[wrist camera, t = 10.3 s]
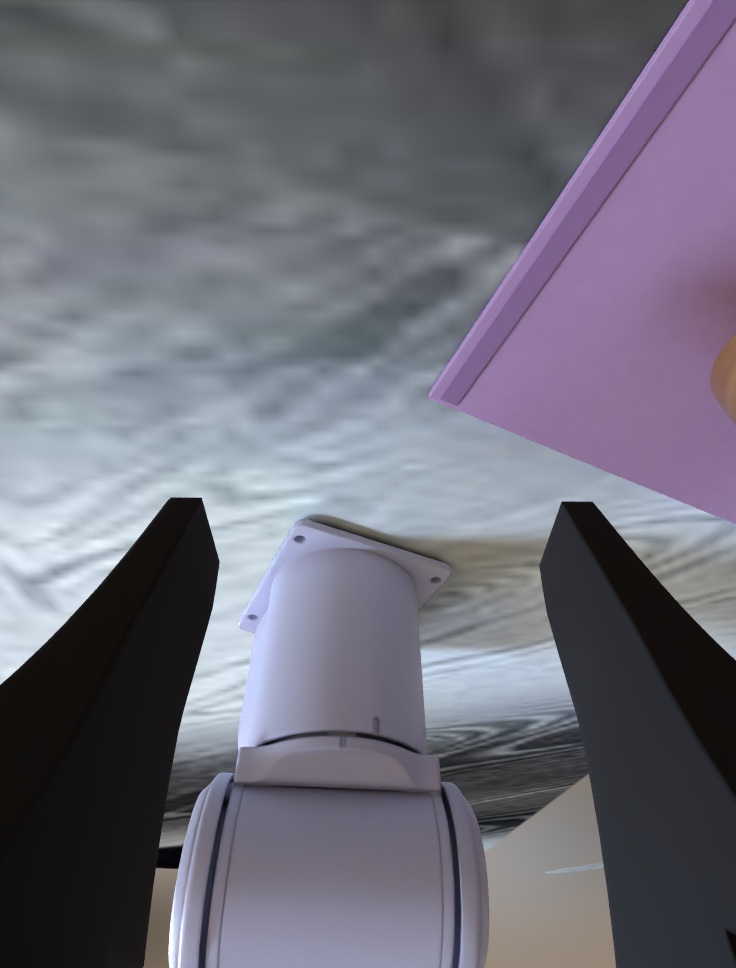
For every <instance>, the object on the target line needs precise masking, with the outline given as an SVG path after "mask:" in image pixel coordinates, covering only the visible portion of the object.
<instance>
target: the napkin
mask: <svg viewBox="0 0 736 968" xmlns="http://www.w3.org/2000/svg"><path fill="white" fill-rule="evenodd" d="M735 334H736V0H689V2H688V3H687V5H686V6H685V8H684V9H683V11H682V12H681V14H680V15H679V17H678V18H677V20H676V21H675V23H674V24H673V26H672V27H671V29H670V30H669V32H668V33H667V35H666V36H665V38H664V39H663V41H662V42H661V44H660V45H659V47H658V48H657V50H656V51H655V53H654V54H653V56H652V57H651V59H650V61H649V62H648V64H647V65H646V67H645V68H644V70H643V71H642V73H641V74H640V76H639V77H638V79H637V80H636V82H635V83H634V85H633V86H632V88H631V89H630V91H629V92H628V94H627V95H626V97H625V98H624V100H623V101H622V103H621V104H620V106H619V107H618V109H617V110H616V112H615V113H614V115H613V116H612V118H611V119H610V121H609V122H608V124H607V125H606V127H605V128H604V130H603V131H602V133H601V134H600V136H599V137H598V139H597V140H596V142H595V143H594V145H593V146H592V148H591V149H590V151H589V152H588V154H587V155H586V157H585V158H584V160H583V161H582V163H581V164H580V166H579V167H578V169H577V170H576V172H575V173H574V175H573V176H572V178H571V179H570V181H569V182H568V184H567V186H566V187H565V189H564V190H563V192H562V193H561V195H560V196H559V198H558V199H557V201H556V202H555V204H554V205H553V207H552V208H551V210H550V211H549V213H548V214H547V216H546V217H545V219H544V220H543V222H542V223H541V225H540V226H539V228H538V229H537V231H536V232H535V234H534V235H533V237H532V238H531V240H530V241H529V243H528V244H527V246H526V247H525V249H524V250H523V252H522V253H521V255H520V256H519V258H518V259H517V261H516V262H515V264H514V265H513V267H512V268H511V270H510V271H509V273H508V274H507V276H506V277H505V279H504V280H503V282H502V283H501V285H500V286H499V288H498V289H497V291H496V292H495V294H494V295H493V297H492V298H491V300H490V301H489V303H488V304H487V306H486V308H485V309H484V311H483V312H482V314H481V315H480V317H479V318H478V320H477V321H476V323H475V324H474V326H473V327H472V329H471V330H470V332H469V333H468V335H467V336H466V338H465V339H464V341H463V342H462V344H461V345H460V347H459V348H458V350H457V351H456V353H455V354H454V356H453V357H452V359H451V360H450V362H449V363H448V365H447V366H446V368H445V369H444V371H443V372H442V374H441V375H440V377H439V378H438V380H437V381H436V383H435V384H434V386H433V387H432V389H431V390H430V392H429V393H428V396H429V399H432V400H434V401H437V402H439V403H442V404H444V405H447V406H449V407H451V408H454V409H456V410H459V411H461V412H464V413H466V414H468V415H471V416H473V417H476V418H478V419H481V420H483V421H485V422H488V423H490V424H493V425H495V426H498V427H500V428H503V429H505V430H507V431H510V432H512V433H515V434H517V435H520V436H522V437H524V438H527V439H529V440H532V441H534V442H537V443H539V444H541V445H544V446H546V447H549V448H551V449H554V450H556V451H559V452H561V453H563V454H566V455H568V456H571V457H573V458H576V459H578V460H580V461H583V462H585V463H588V464H590V465H593V466H595V467H598V468H600V469H602V470H605V471H607V472H610V473H612V474H615V475H617V476H619V477H622V478H624V479H627V480H629V481H632V482H634V483H636V484H639V485H641V486H644V487H646V488H649V489H651V490H654V491H656V492H658V493H661V494H663V495H666V496H668V497H671V498H673V499H675V500H678V501H680V502H683V503H685V504H688V505H690V506H693V507H695V508H697V509H700V510H702V511H705V512H707V513H710V514H712V515H714V516H717V517H719V518H722V519H724V520H727V521H729V522H731V523H734V524H736V426H735V424H734V423H733V422H732V420H731V419H730V418H729V416H728V415H727V413H726V412H725V411H724V409H723V408H722V407H721V405H720V404H719V403H718V401H717V400H716V399H715V397H714V395H713V393H712V390H711V380H710V379H711V372H712V369H713V366H714V363H715V361H716V359H717V357H718V355H719V354H720V352H721V350H722V349H723V348H724V346H725V345H726V344H727V343H728V341H729V340H730V339H731V338H732V337H733V336H734V335H735Z"/></svg>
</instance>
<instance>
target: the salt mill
mask: <svg viewBox="0 0 736 968" xmlns="http://www.w3.org/2000/svg"><path fill="white" fill-rule="evenodd" d="M710 380H711V390H712V393H713V395H714V397H715V399H716V400H717V401H718V403H719V404H720V405H721V407H722V408H723V409H724V411H725V412H726V413H727V415H728V416H729V418H730V419H731V420H732V422H733V423H734V424H735V426H736V334H735V335H734V336H733V337H732V338H731V339H730V340H729V341H728V343H727V344H726V345H725V346H724V348H723V349H722V350H721V352H720V354H719V355H718V357H717V359H716V361H715V363H714V366H713V369H712V372H711V379H710Z"/></svg>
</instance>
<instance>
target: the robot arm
mask: <svg viewBox="0 0 736 968" xmlns="http://www.w3.org/2000/svg"><path fill="white" fill-rule="evenodd" d="M301 536H302V537H301ZM539 566H540V573H541V580H542V586H543V593H544V599H545V605H546V611H547V615H548V618H549V622H550V625H551V629H552V632H553V636H554V639H555V643H556V646H557V650H558V653H559V657H560V660H561V663H562V667H563V670H564V674H565V677H566V680H567V684H568V687H569V691H570V694H571V697H572V701H573V704H574V708H575V711H576V715H577V719H578V723H579V727H580V731H581V735H582V739H583V745H584V750H585V755H586V761H587V766H588V771H589V776H590V782H591V787H592V793H593V799H594V805H595V811H596V817H597V823H598V829H599V835H600V842H601V848H602V856H603V863H604V870H605V877H606V884H607V891H608V899H609V908H610V916H611V925H612V933H613V940H614V950H615V959H616V968H736V660H735V659H734V658H732V657H731V656H730V655H729V654H728V653H727V652H726V651H725V650H724V649H723V648H722V647H721V646H720V645H719V644H718V643H717V642H716V641H715V640H714V639H713V638H712V637H711V636H710V635H709V634H708V633H707V632H706V631H705V630H704V629H703V628H702V627H701V626H700V625H699V624H698V623H697V622H696V621H695V620H694V619H693V618H692V617H691V616H690V615H689V614H688V613H687V612H686V611H685V610H684V609H683V607H682V606H681V605H680V604H679V603H678V602H677V601H676V600H675V599H674V598H673V597H672V595H671V594H670V593H669V592H668V591H667V590H666V589H665V588H664V586H663V585H662V584H661V583H660V582H659V581H658V580H657V579H656V577H655V576H654V575H653V574H652V573H651V572H650V571H649V569H648V568H647V567H646V566H645V565H644V564H643V562H642V561H641V560H640V559H639V558H638V556H637V555H636V554H635V553H634V552H633V550H632V549H631V548H630V547H629V546H628V544H627V543H626V542H625V541H624V540H623V538H622V537H621V536H620V535H619V533H618V532H617V531H616V530H615V529H614V527H613V526H612V525H611V524H610V522H609V521H608V520H607V519H606V518H605V516H604V515H603V514H602V513H601V511H600V510H599V509H598V508H597V507H596V505H595V504H594V503H593V502H562V503H561V505H560V508H559V511H558V514H557V517H556V520H555V522H554V525H553V528H552V531H551V534H550V537H549V540H548V542H547V545H546V548H545V551H544V554H543V557H542V559H541V562H540V565H539ZM218 569H219V558H218V555H217V551H216V547H215V544H214V540H213V537H212V533H211V530H210V526H209V522H208V519H207V515H206V512H205V508H204V505H203V501H202V498H170V499H169V500H168V501H167V502H166V503H165V505H164V506H163V507H162V509H161V510H160V511H159V512H158V514H157V515H156V516H155V518H154V519H153V520H152V522H151V523H150V524H149V525H148V527H147V528H146V529H145V531H144V532H143V533H142V534H141V536H140V537H139V538H138V540H137V541H136V542H135V543H134V545H133V546H132V547H131V548H130V550H129V551H128V552H127V553H126V555H125V556H124V557H123V558H122V559H121V560H120V562H119V563H118V564H117V565H116V566H115V568H114V569H113V570H112V571H111V572H110V574H109V575H108V576H107V577H106V578H105V580H104V581H103V582H102V583H101V584H100V585H99V587H98V588H97V589H96V590H95V591H94V592H93V593H92V594H91V596H90V597H89V598H88V599H87V600H86V601H85V602H84V603H83V604H82V605H81V606H80V607H79V609H78V610H77V611H76V612H75V613H74V614H73V615H72V616H71V617H70V618H69V619H68V621H67V622H66V623H65V624H64V625H63V626H62V627H61V628H60V629H59V630H58V631H57V632H56V633H55V634H54V635H53V636H52V637H51V638H50V639H49V640H48V641H47V642H46V643H45V644H44V645H43V646H42V647H41V648H40V649H39V650H38V651H37V652H36V653H35V654H34V655H33V656H31V657H30V658H29V659H28V660H27V661H26V662H25V663H24V664H23V665H22V666H21V667H20V668H19V669H18V670H17V671H15V672H14V673H13V674H12V675H11V676H10V677H9V678H8V679H6V680H5V681H4V682H3V683H2V684H1V685H0V968H143V966H144V959H145V950H146V941H147V933H148V924H149V916H150V908H151V899H152V892H153V884H154V877H155V870H156V863H157V856H158V849H159V842H160V836H161V829H162V823H163V817H164V811H165V804H166V798H167V792H168V786H169V780H170V775H171V769H172V764H173V758H174V753H175V747H176V742H177V736H178V731H179V727H180V723H181V719H182V715H183V711H184V707H185V703H186V700H187V696H188V693H189V690H190V686H191V683H192V679H193V676H194V672H195V669H196V665H197V662H198V658H199V655H200V651H201V648H202V644H203V641H204V637H205V633H206V630H207V626H208V623H209V619H210V615H211V612H212V608H213V602H214V596H215V590H216V583H217V576H218ZM450 575H451V569H450V566H449V565H448V564H446V563H443V562H440V561H437V560H434V559H431V558H427V557H424V556H421V555H418V554H415V553H412V552H408V551H405V550H402V549H399V548H396V547H393V546H389V545H386V544H383V543H380V542H377V541H374V540H370V539H367V538H364V537H361V536H358V535H355V534H351V533H348V532H345V531H342V530H339V529H336V528H332V527H329V526H326V525H323V524H320V523H317V522H313V521H310V520H306V519H302V520H298V521H296V522H295V523H294V525H293V527H292V528H291V530H290V532H289V534H288V535H287V537H286V539H285V541H284V542H283V544H282V546H281V547H280V549H279V551H278V553H277V554H276V556H275V558H274V560H273V561H272V563H271V565H270V567H269V568H268V570H267V572H266V573H265V575H264V577H263V579H262V580H261V582H260V584H259V586H258V587H257V589H256V591H255V593H254V594H253V596H252V598H251V600H250V601H249V603H248V605H247V606H246V608H245V610H244V612H243V613H242V615H241V617H240V619H239V624H238V626H239V628H240V629H242V630H244V631H248V632H252V633H255V636H254V642H253V648H252V654H251V660H250V666H249V672H248V678H247V683H246V689H245V695H244V701H243V707H242V713H241V719H240V724H239V731H238V748H239V752H238V758H237V764H236V770H235V775H234V773H220V774H218V775H217V776H216V777H215V778H214V780H213V782H212V783H210V784H209V785H208V786H207V787H206V788H205V789H204V790H203V791H202V792H201V793H200V795H199V797H198V799H197V801H196V804H195V806H194V809H193V812H192V816H191V819H190V822H189V826H188V830H187V834H186V838H185V842H184V846H183V851H182V855H181V860H180V865H179V870H178V876H177V882H176V888H175V895H174V901H173V908H172V916H171V926H170V939H169V965H170V968H484V967H485V963H486V957H487V950H488V938H489V896H488V880H487V871H486V862H485V855H484V849H483V843H482V838H481V833H480V829H479V825H478V822H477V819H476V816H475V813H474V811H473V809H472V807H471V806H470V804H469V803H468V802H467V800H466V799H465V798H464V797H463V796H462V793H461V792H460V790H459V789H458V788H457V786H456V785H454V784H452V783H444V782H441V781H440V768H439V758H438V757H437V756H432V755H427V744H426V729H425V714H424V699H423V683H422V668H421V653H420V637H419V622H418V609H419V608H420V607H421V606H422V605H423V604H424V603H425V602H426V601H427V600H428V599H429V598H430V597H431V596H432V595H433V594H434V593H435V592H436V591H437V590H438V589H439V587H440V586H441V585H442V584H443V583H444V582H445V581H446V580H447V579H448V578H449V577H450Z"/></svg>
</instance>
